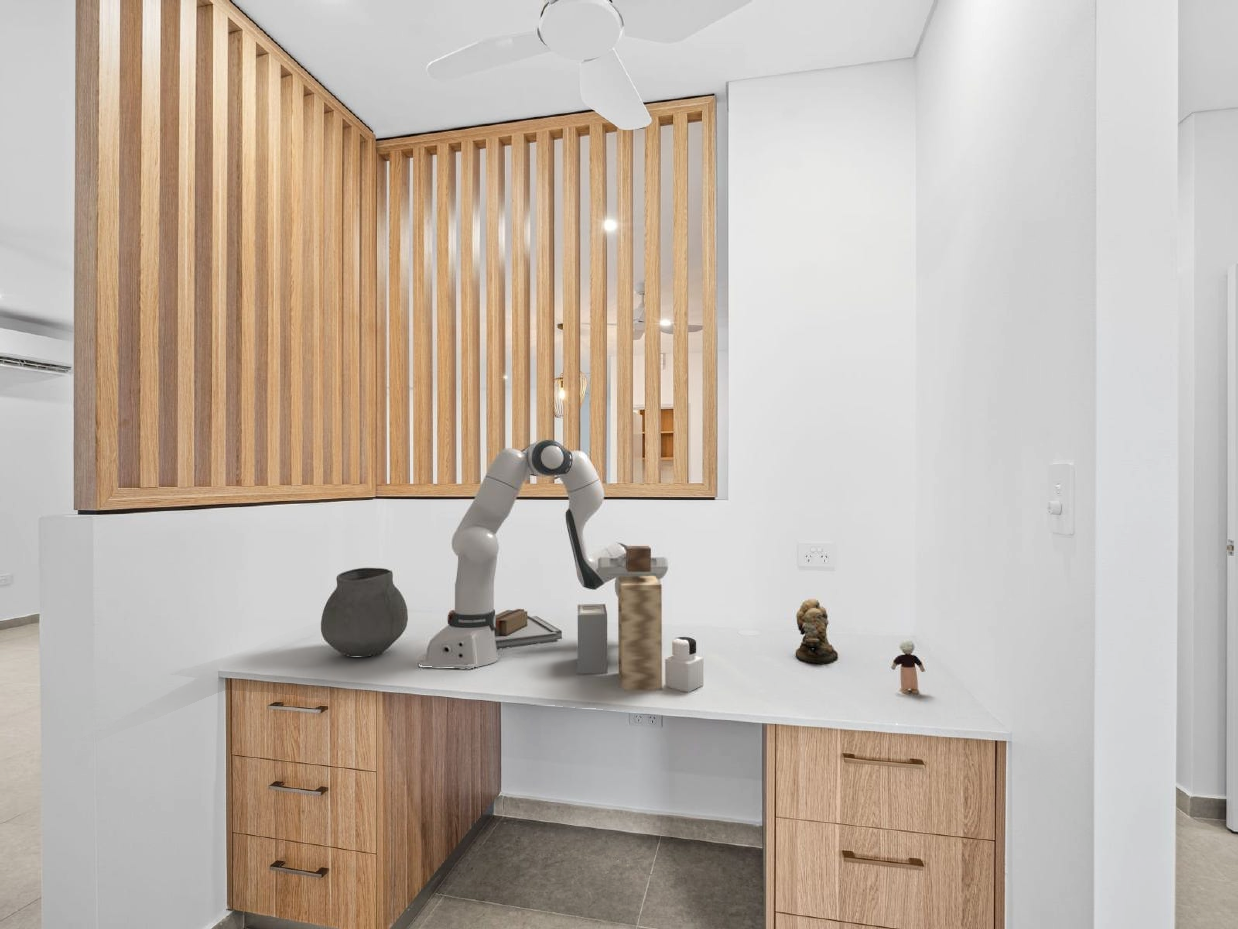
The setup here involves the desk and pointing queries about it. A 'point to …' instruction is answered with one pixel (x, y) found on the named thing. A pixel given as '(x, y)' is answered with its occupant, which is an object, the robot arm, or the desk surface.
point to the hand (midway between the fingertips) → (634, 555)
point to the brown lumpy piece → (814, 634)
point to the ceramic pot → (364, 612)
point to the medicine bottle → (684, 666)
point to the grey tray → (523, 629)
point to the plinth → (592, 638)
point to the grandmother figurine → (908, 667)
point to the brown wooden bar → (638, 559)
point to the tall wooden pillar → (640, 632)
